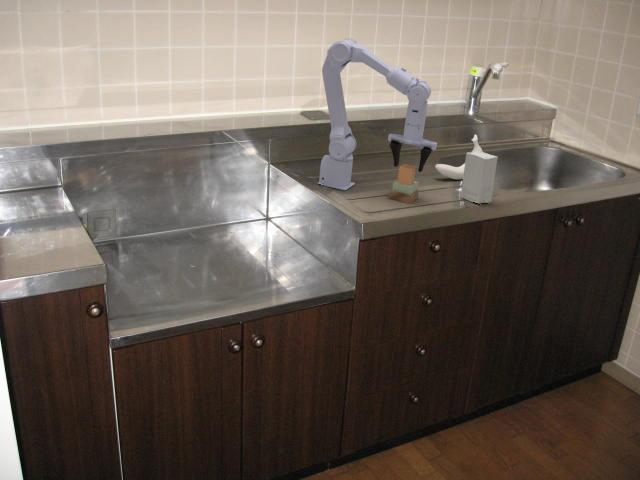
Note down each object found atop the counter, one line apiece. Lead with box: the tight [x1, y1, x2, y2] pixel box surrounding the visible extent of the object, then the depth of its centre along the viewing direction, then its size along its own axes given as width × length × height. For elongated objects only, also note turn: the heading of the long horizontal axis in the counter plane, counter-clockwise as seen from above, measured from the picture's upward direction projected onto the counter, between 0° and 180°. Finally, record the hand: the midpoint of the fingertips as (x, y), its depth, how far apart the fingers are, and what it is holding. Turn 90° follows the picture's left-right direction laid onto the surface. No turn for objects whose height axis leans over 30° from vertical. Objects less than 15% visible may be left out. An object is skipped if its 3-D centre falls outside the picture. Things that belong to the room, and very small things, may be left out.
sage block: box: [391, 179, 420, 195], centre depth 213 cm, size 6×6×2 cm
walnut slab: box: [388, 189, 420, 205], centre depth 214 cm, size 7×7×3 cm
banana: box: [434, 134, 484, 181], centre depth 237 cm, size 5×19×15 cm, turn 125°
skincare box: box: [460, 151, 499, 204], centre depth 217 cm, size 8×6×15 cm
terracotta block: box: [397, 163, 417, 185], centre depth 212 cm, size 4×4×5 cm
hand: (408, 168), depth 211 cm, fingers open, 7 cm apart
